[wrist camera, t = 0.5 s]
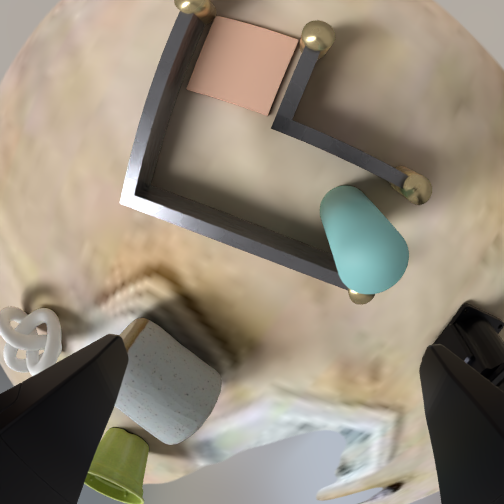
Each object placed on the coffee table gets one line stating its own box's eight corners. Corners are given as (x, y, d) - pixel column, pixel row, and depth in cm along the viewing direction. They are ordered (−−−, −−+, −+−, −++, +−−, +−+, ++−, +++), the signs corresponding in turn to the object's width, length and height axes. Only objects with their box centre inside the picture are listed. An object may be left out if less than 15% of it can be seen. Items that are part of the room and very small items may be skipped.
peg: (378, 198, 18) (421, 243, 12) (355, 242, 19) (385, 303, 13) (332, 176, 18) (359, 213, 12) (311, 223, 19) (323, 279, 13)
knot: (77, 367, 28) (53, 404, 23) (23, 335, 28) (-4, 366, 23) (75, 318, 25) (43, 359, 20) (16, 285, 25) (-19, 316, 19)
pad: (298, 41, 15) (298, 40, 14) (267, 115, 17) (267, 116, 16) (217, 16, 14) (216, 15, 14) (187, 89, 16) (186, 89, 16)
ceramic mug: (152, 294, 23) (107, 365, 16) (230, 358, 25) (212, 435, 18) (99, 351, 27) (63, 408, 20) (163, 399, 29) (140, 459, 22)
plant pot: (84, 419, 34) (60, 466, 26) (129, 417, 31) (104, 475, 23) (127, 455, 37) (110, 500, 29) (174, 456, 34) (159, 508, 26)
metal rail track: (445, 104, 15) (469, 104, 12) (357, 282, 21) (366, 307, 18) (196, 1, 14) (181, -16, 11) (130, 196, 20) (109, 209, 17)
